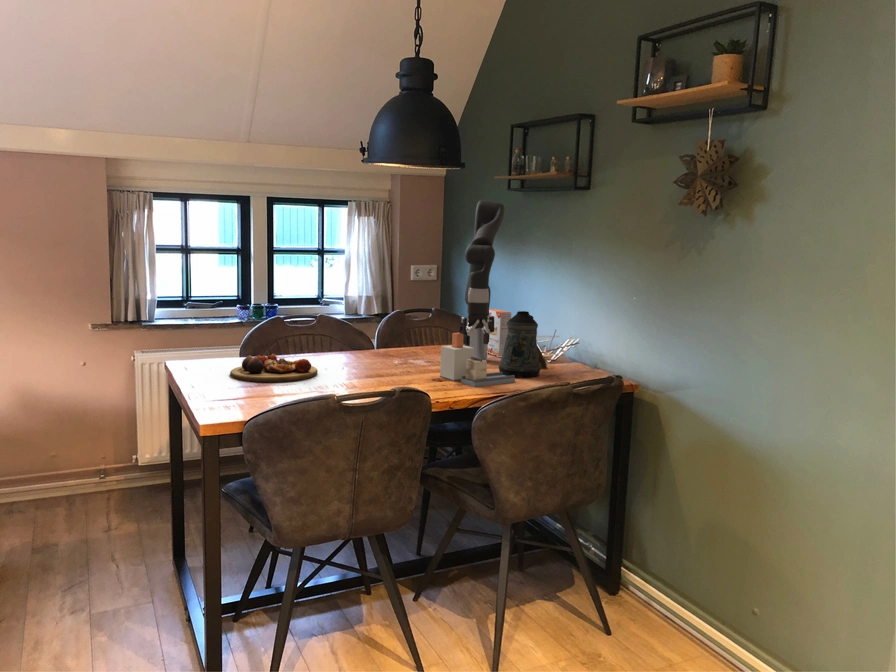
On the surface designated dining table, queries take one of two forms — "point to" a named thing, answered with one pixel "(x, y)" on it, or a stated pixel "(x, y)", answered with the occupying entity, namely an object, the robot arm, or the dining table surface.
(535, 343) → the beer stein
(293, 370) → the wooden plate with food
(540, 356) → the rock
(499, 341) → the cracker box
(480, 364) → the carriage
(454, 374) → the light grey hollow box
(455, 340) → the orange dimpled block
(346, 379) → the dining table surface
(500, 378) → the rail
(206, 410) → the dining table surface
